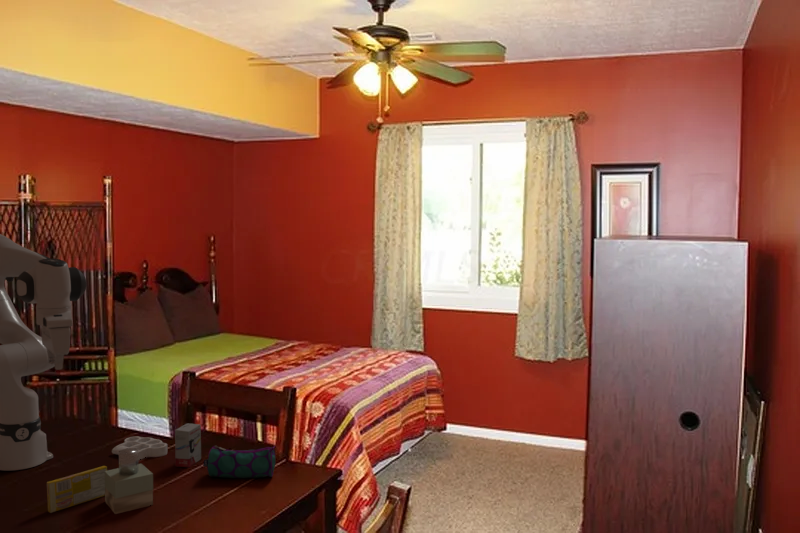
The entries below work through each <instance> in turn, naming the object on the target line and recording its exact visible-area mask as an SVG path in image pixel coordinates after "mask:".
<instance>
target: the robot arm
mask: <svg viewBox="0 0 800 533" xmlns="http://www.w3.org/2000/svg"><path fill="white" fill-rule="evenodd" d="M15 278H16V280H15V293H16V296H17V298H19V299H20V300H21V301H22V302H24V303H26V304H36V306H35V316H36V318H35V319H36V325H37V326H41V336H40V335H38V334H36V333H35V332H34V331H32V330H31V329H30V328H29V327H28V326H27V325H26V324H25V323H24V321H23V320H22V319H21V317H20V315H19V314H18V311H17V309H16V308H15V305H14V304H13V302H12V300H11V297H10V296H9V294H8V291H7V290H6V287H5V282H8V283H12V282H14V279H15ZM87 282H88V281H87V279H86V277H85V274H84V273H83V272H82V271H81V270H80V269H78V268H77V267H75V266H73V267H72V266H71V267H69V265H68V263H67V261H65V260H63V259H59V258H50V257H48V256H46V255H44V254H41V253H39V252H36V251H33V250H31V249H29V248H28V247H27V248H26V247H24V246H22V245H20V244H18V243H16V242H15V241H13V240H12V239H11V238H9V237H7V236H6V235H3V234H1V233H0V471H19V470H20V471H21V470H26V469H30V468H33V467H37V466H39V465H41V464H43V463H45V462H47V461H48V460H51V459H53V458H54V454H53V453H52V452H51V451H48V442H47V433H45V432H44V431H42V430H41V427H42V426H41V424H42V421H41V417H40V416H39V414H40V413H39V412H40V411H39V410H40V409H39V395H38V394H37V392H36V391H35V390H33V389H32V388H30V387H27V386H24V385H23V382H22V377H26V376H33V375H35V374H36V375H37V374H40V373H44V372H46V371H48V370H50V369H52V368H54V369H55V370H56V371H60V370H63V368H64V365H63V364H64V358H65V355H66V356H67V355H69V353H70V348H71V345H70V344H71V327H73V323H74V322H73V316H72V303H71V302H77V301H78V300H79V299H80V298H81V297H82V296H83V295H84V294H85V292H86V290H87V288H88V287H87V284H88V283H87Z"/></svg>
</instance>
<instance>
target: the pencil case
mask: <svg viewBox="0 0 800 533" xmlns="http://www.w3.org/2000/svg"><path fill="white" fill-rule="evenodd" d="M275 448H276V446H275V445H274V446H272V447H270V446H266V447H261V448H257V449H248V450H247V449H242V450H241V449H240V450H239V449H238V450H237V449H235V450H233V449H226V448H223V447H221V446H218V445H213V446H212V447H211V448H210V449H209V451H208V455H207V458H206V459H203V467H207V468H206V470H207V473H208V476H209V477H214V478H225V479H227V478H228V479H256V478H257V479H258V478H265V477H270V478H272V477H273V475H274V471H275V468H276V450H275Z"/></svg>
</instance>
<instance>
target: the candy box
mask: <svg viewBox="0 0 800 533" xmlns="http://www.w3.org/2000/svg"><path fill="white" fill-rule="evenodd" d="M107 470H108V466H106V465H102V466H99V467H95V468H92V469H88V470H85V471H81V472H77V473H75V474H74V473H73V474H70V475H66V476H65V477H60V478H56V479H54V480H49V481H47V482H46V496H47V498H46V499H47V512H48V513H50V514H52V513H55V512H57V511H62V510H64V509H68V508H71V507H74V506H77V505H80V504H83V503H86V502H89V501H92V500H97V499H99V498H102V497H105V471H107Z"/></svg>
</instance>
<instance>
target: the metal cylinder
mask: <svg viewBox="0 0 800 533" xmlns="http://www.w3.org/2000/svg"><path fill="white" fill-rule="evenodd" d="M138 464H139V460H138V449H136V448H126V449H122V450H120V451H119V455H118V468H119V474H120V475H123V476H129V475H134V474H136V473H138V472H139V467H138Z"/></svg>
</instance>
